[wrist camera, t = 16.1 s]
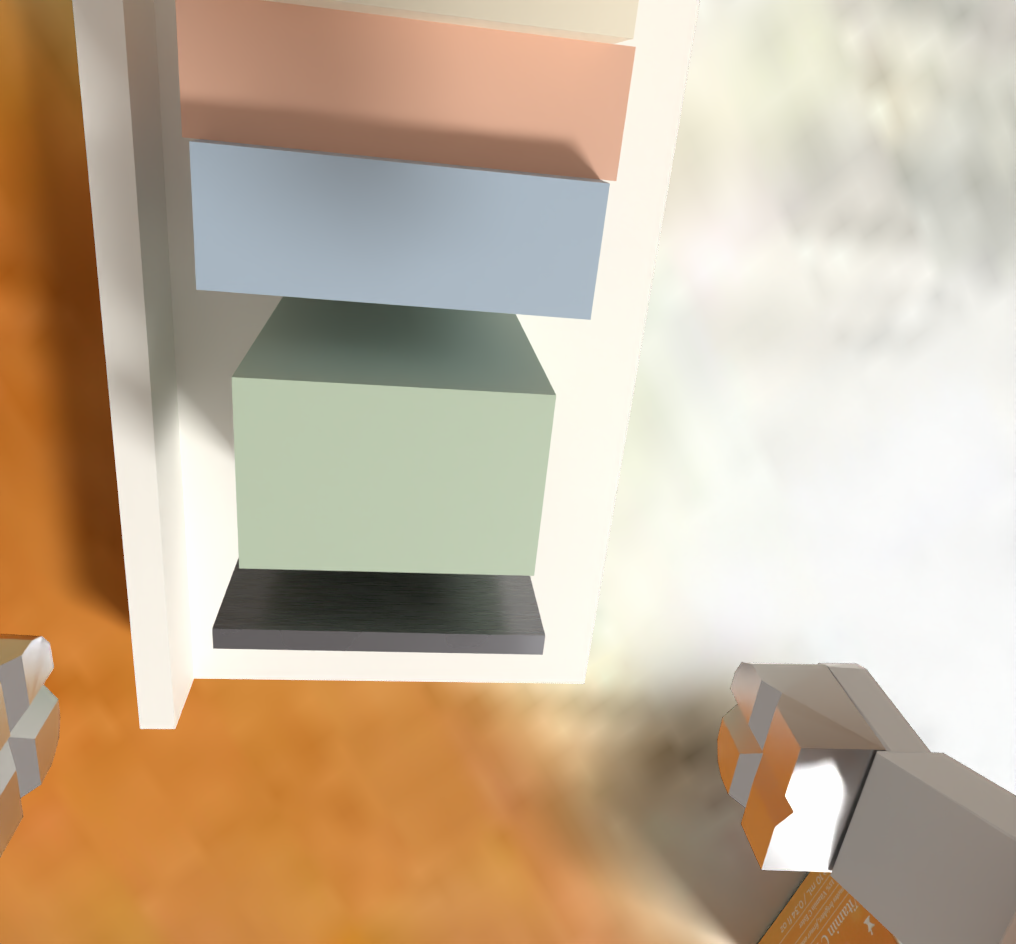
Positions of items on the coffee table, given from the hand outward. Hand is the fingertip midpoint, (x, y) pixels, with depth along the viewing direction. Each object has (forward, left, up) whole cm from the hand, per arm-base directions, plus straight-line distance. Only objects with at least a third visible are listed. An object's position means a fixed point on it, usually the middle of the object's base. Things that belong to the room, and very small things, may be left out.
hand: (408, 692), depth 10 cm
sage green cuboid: (0, 0, -15) cm, 15 cm away
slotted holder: (0, 0, -16) cm, 16 cm away
